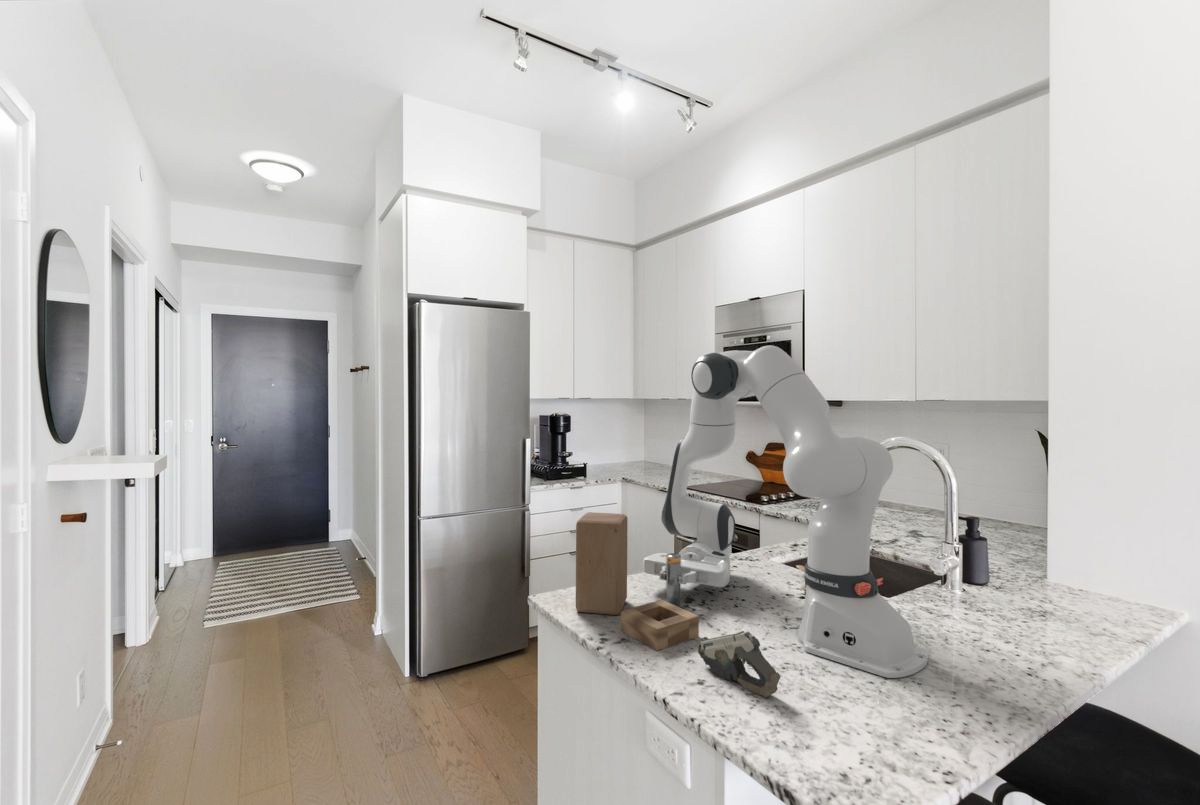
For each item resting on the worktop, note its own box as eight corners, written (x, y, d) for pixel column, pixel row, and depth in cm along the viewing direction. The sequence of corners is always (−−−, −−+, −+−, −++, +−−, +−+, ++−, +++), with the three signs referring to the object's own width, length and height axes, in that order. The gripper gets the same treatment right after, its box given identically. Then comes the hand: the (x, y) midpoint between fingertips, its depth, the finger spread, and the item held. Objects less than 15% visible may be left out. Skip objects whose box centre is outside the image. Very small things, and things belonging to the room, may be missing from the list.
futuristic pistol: (719, 697, 100) (700, 637, 103) (786, 691, 90) (763, 624, 93) (709, 701, 99) (690, 640, 102) (777, 696, 88) (753, 628, 91)
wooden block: (620, 617, 122) (621, 523, 122) (574, 613, 124) (574, 520, 124) (627, 600, 132) (628, 513, 131) (584, 596, 134) (585, 511, 133)
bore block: (698, 636, 113) (698, 616, 113) (657, 650, 106) (657, 629, 106) (661, 618, 122) (661, 599, 121) (621, 630, 115) (621, 610, 115)
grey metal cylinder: (683, 604, 129) (684, 556, 129) (672, 607, 127) (673, 558, 127) (673, 600, 132) (673, 552, 132) (662, 603, 130) (663, 554, 130)
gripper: (657, 543, 146) (631, 557, 134) (736, 556, 135) (714, 572, 123) (657, 568, 146) (630, 584, 134) (735, 583, 135) (714, 601, 124)
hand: (671, 578), depth 129 cm, fingers closed on grey metal cylinder, 3 cm apart
